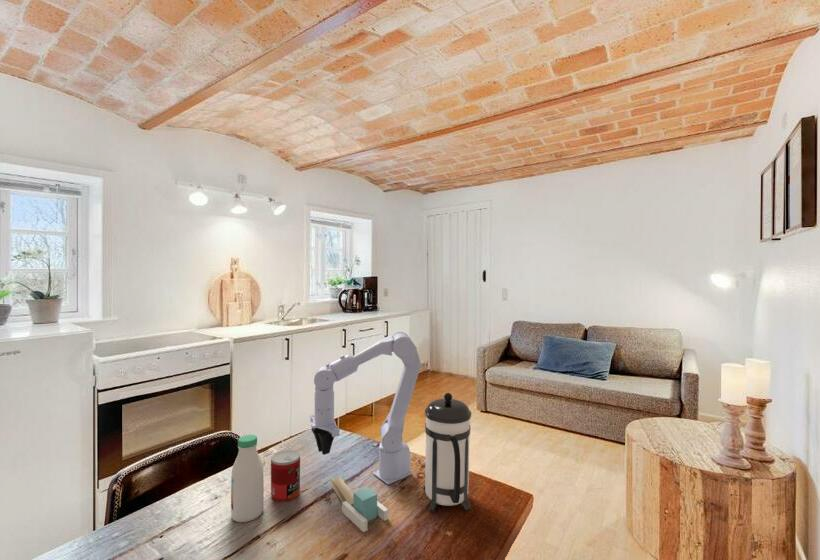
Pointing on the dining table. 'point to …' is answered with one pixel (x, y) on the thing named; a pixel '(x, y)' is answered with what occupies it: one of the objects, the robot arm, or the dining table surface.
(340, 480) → the rod
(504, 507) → the dining table surface
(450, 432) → the coffee press
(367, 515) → the block
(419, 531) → the dining table surface
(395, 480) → the robot arm
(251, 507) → the milk bottle
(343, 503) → the channel
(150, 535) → the dining table surface
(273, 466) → the canned food
